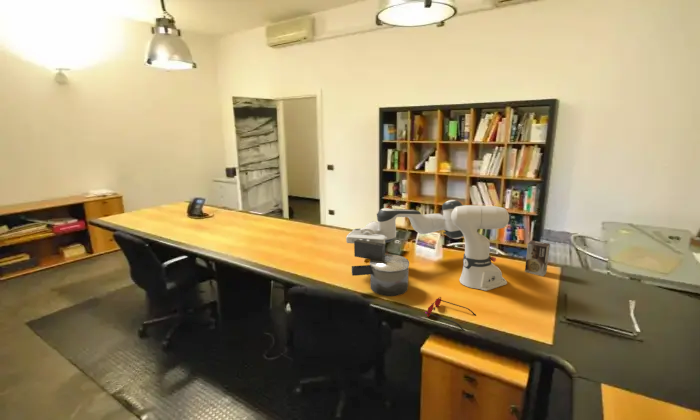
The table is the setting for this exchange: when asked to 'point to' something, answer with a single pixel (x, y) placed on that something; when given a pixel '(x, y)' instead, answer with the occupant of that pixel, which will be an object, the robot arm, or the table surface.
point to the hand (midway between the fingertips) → (362, 244)
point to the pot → (384, 280)
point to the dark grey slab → (379, 256)
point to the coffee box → (537, 258)
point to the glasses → (438, 306)
